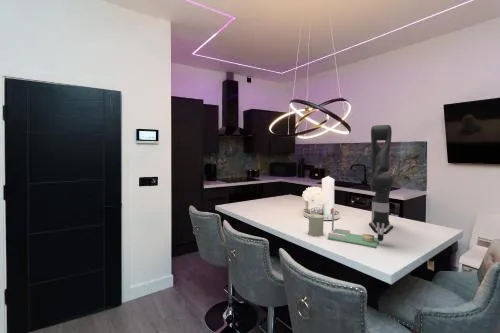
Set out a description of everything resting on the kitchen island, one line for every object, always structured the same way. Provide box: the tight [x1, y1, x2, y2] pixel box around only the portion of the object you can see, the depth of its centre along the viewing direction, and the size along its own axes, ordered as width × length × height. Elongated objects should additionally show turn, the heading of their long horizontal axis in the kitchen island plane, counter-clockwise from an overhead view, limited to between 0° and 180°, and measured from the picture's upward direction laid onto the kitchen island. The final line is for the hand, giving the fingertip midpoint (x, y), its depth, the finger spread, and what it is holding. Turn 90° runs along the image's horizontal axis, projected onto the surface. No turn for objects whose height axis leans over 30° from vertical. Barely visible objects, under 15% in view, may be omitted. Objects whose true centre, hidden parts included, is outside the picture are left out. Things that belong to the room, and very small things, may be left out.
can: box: [307, 213, 325, 237], centre depth 166 cm, size 9×9×12 cm
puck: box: [362, 233, 375, 242], centre depth 152 cm, size 6×6×3 cm
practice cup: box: [327, 207, 351, 240], centre depth 160 cm, size 13×10×16 cm
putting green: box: [327, 233, 380, 249], centre depth 157 cm, size 16×26×1 cm, turn 58°
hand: (380, 240), depth 149 cm, fingers closed
